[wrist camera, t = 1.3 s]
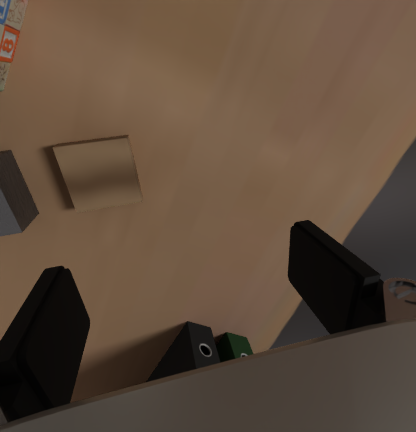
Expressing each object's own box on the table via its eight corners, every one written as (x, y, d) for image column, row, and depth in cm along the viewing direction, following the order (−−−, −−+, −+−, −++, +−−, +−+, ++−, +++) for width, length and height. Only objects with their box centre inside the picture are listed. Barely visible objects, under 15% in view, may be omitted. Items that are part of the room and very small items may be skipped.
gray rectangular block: (-19, 153, 28) (-49, 165, 24) (11, 150, 29) (-14, 160, 24) (13, 217, 32) (-8, 237, 27) (39, 213, 32) (22, 232, 28)
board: (59, 143, 30) (52, 147, 28) (128, 134, 31) (127, 137, 29) (81, 205, 33) (76, 212, 31) (142, 194, 35) (142, 201, 32)
